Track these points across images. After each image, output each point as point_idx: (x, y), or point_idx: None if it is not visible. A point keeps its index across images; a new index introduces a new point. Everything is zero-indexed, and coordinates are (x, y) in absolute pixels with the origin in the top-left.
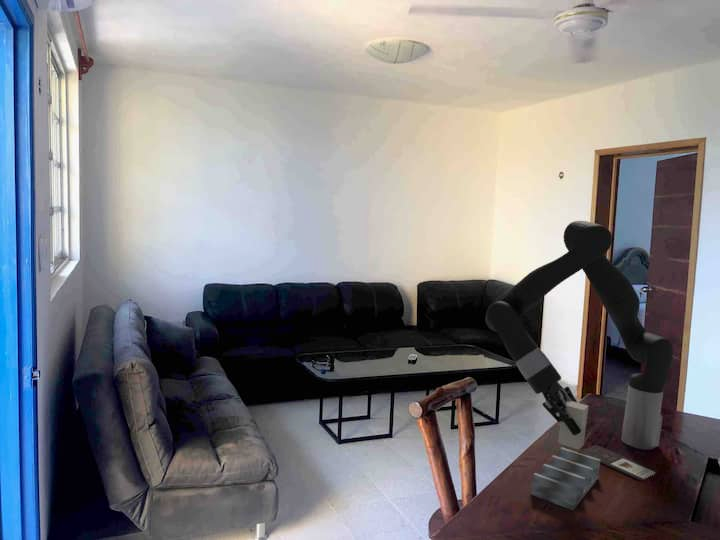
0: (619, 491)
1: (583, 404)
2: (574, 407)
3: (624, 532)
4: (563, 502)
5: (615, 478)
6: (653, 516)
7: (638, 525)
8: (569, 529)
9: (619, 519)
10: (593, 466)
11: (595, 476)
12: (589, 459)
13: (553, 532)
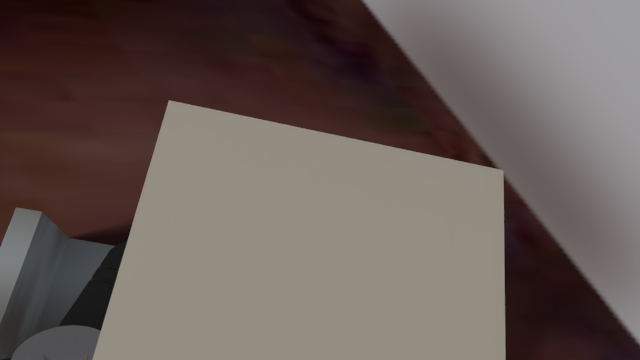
0: (146, 147)
1: (150, 200)
2: (494, 357)
3: (460, 128)
4: None
5: (6, 165)
6: (288, 42)
7: (384, 88)
8: (576, 298)
9: (386, 143)
10: (45, 253)
11: (85, 246)
12: (24, 273)
13: (636, 348)
